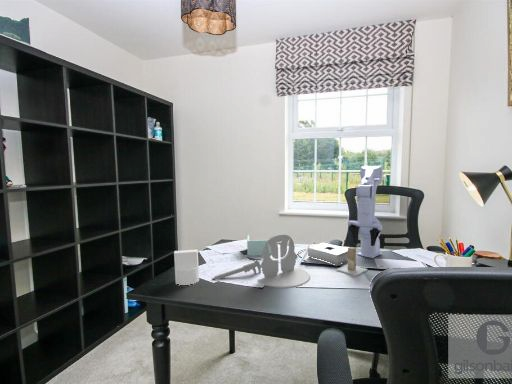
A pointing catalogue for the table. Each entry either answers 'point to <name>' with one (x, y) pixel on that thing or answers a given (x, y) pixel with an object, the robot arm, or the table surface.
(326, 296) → the table surface
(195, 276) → the white rounded upright block
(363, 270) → the pad
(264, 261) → the ornament
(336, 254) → the guard box
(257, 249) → the l-shaped corner panel
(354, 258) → the long tan rectangular block
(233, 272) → the caliper
